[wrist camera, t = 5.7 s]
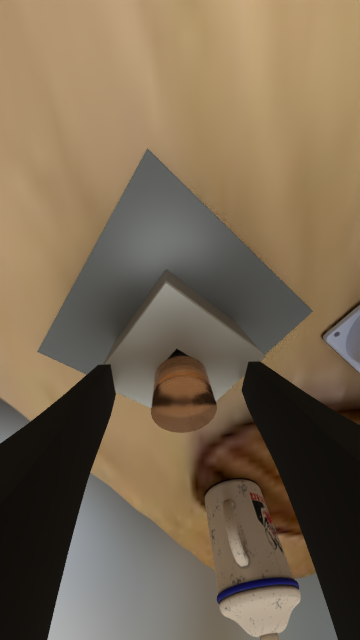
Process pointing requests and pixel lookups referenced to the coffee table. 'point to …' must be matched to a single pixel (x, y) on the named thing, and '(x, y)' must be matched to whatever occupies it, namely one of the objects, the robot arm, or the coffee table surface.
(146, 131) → the coffee table surface
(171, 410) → the plunger
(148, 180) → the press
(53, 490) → the robot arm
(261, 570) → the teacup with lid
